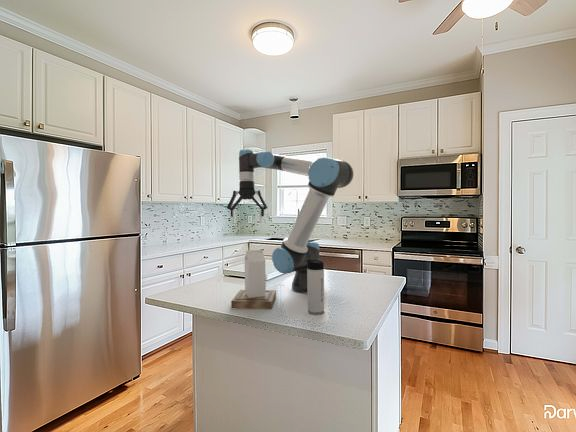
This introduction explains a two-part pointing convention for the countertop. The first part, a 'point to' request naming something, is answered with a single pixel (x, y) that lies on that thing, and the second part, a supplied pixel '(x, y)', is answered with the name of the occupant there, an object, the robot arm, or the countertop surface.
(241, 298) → the plinth
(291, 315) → the countertop surface
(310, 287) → the travel mug
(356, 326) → the countertop surface
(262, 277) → the milk carton
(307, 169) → the robot arm
